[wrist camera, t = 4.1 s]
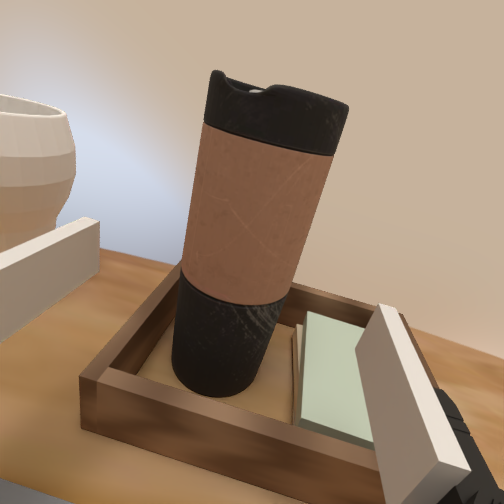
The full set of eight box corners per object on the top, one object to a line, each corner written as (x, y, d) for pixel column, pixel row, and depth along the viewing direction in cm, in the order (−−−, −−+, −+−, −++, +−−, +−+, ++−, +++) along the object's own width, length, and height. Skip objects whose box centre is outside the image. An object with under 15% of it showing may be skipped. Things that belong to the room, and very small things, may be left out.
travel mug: (247, 326, 29) (313, 102, 20) (272, 396, 22) (383, 113, 14) (166, 327, 26) (200, 71, 18) (168, 406, 20) (223, 65, 11)
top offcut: (294, 431, 18) (301, 417, 18) (303, 322, 28) (307, 310, 28) (415, 473, 18) (426, 460, 17) (381, 346, 28) (387, 335, 27)
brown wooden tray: (80, 428, 17) (78, 375, 15) (182, 288, 32) (188, 251, 30) (451, 550, 16) (499, 510, 14) (383, 347, 31) (402, 314, 29)
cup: (47, 321, 24) (28, 123, 17) (-113, 306, 22) (-203, 73, 15) (95, 258, 33) (95, 113, 27) (-13, 242, 31) (-43, 82, 24)
